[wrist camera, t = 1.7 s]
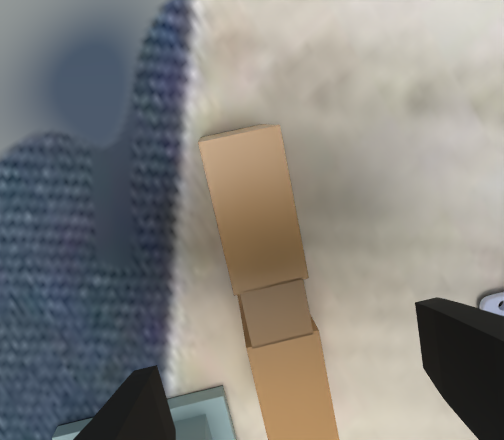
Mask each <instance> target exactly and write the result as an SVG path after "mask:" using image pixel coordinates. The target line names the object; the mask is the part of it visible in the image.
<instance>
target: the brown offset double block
mask: <svg viewBox="0 0 504 440" xmlns="http://www.w3.org/2000/svg"><path fill="white" fill-rule="evenodd" d="M198 144H199V149H200V153H201V157H202V161H203V166H204V170H205V174H206V178H207V183H208V187H209V191H210V195H211V200H212V204H213V208H214V212H215V217H216V221H217V225H218V229H219V234H220V238H221V242H222V246H223V251H224V255H225V259H226V263H227V268H228V272H229V276H230V280H231V285H232V289H233V293H234V296H235V295H238V300H239V306H240V312H241V318H242V324H243V330H244V336H245V342H246V348H247V353H248V357H249V361H250V365H251V370H252V374H253V378H254V382H255V386H256V391H257V395H258V399H259V403H260V408H261V412H262V416H263V420H264V425H265V429H266V433H267V437H268V440H339V436H338V431H337V425H336V420H335V415H334V409H333V404H332V399H331V394H330V388H329V383H328V378H327V372H326V367H325V362H324V356H323V351H322V346H321V340H320V335H319V330H318V328H317V326H316V325H315V323H314V321H313V319H312V317H311V315H310V313H309V308H308V303H307V297H306V292H305V287H304V282H303V279H307V278H309V277H308V271H307V266H306V261H305V256H304V250H303V245H302V240H301V234H300V229H299V224H298V218H297V213H296V208H295V202H294V197H293V192H292V187H291V181H290V176H289V171H288V165H287V160H286V155H285V149H284V144H283V139H282V134H281V128H280V125H266V124H260V125H256V126H251V127H247V128H242V129H237V130H233V131H228V132H223V133H219V134H214V135H210V136H205V137H201V138H200V140H199V142H198Z"/></svg>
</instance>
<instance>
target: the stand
mask: <svg viewBox="0 0 504 440" xmlns="http://www.w3.org/2000/svg"><path fill="white" fill-rule="evenodd" d="M167 401H168V405H169V408H170V412H171V415H172V418H173V422H174V425H175V429H176V440H236V436H235V432H234V428H233V424H232V420H231V416H230V412H229V408H228V404H227V401H226V397H225V393H224V389H223V386H220V387H216V388H212V389H208V390H204V391H200V392H195V393H191V394H187V395H183V396H179V397H175V398H171V399H167ZM92 419H93V418H89V419H85V420H81V421H77V422H73V423H69V424H65V425H61V426H58V427H57V429H56V431H55V433H54V435H53V437H52V440H73V439H74V438H75V437H76V436H77V435H78V434H79V432H80V431H81V430H82V429H83V428H84V427H85V426H86V425H87V424H88V423H89V422H90V421H91V420H92Z"/></svg>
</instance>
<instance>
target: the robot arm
mask: <svg viewBox="0 0 504 440" xmlns="http://www.w3.org/2000/svg"><path fill="white" fill-rule="evenodd" d="M501 301H503V304H502V305H501V306H500V307H498V306H499V303H500V302H501ZM415 306H416V313H417V321H418V329H419V337H420V345H421V353H422V361H423V368H424V370H425V371H426V373H427V374H428V376H429V377H430V379H431V381H432V382H433V384H434V385H435V387H436V388H437V390H438V391H439V393H440V394H441V396H442V397H443V398H444V400H445V401H446V402H447V403H448V404H449V406H450V407H451V408H452V409H453V410H454V412H455V413H456V414H457V415H458V416H459V417H460V419H461V420H462V421H463V422H464V423H465V424H466V425H467V427H468V428H469V429H470V430H471V431H472V432H473V433H474V435H475V436H476V437H477V438H478V439H479V440H504V292H501V293H497V294H493V295H488V296H486V297H484V298H483V299H482V300H481V302H480V306H479V308H480V309H478V308H475V307H472V306H468V305H465V304H461V303H458V302H454V301H451V300H447V299H442V298H432V299H428V300H424V301H420V302H416V303H415ZM73 440H176V429H175V425H174V422H173V418H172V415H171V412H170V408H169V405H168V401H167V398H166V395H165V391H164V388H163V385H162V381H161V378H160V374H159V371H158V368H157V365H156V366H152V367H148V368H143V369H139V370H135V371H134V372H133V373H132V374H131V375H130V376H129V377H128V378H127V379H126V380H125V381H124V382H123V384H122V385H121V386H120V387H119V388H118V390H117V391H116V392H115V393H114V394H113V395H112V397H111V398H110V399H109V400H108V401H107V402H106V404H105V405H104V406H103V407H102V408H101V409H100V411H99V412H98V413H97V414H96V415H95V416H94V417H93V419H92V420H91V421H90V422H89V423H88V424H87V425H86V426H85V427H84V428H83V429H82V430H81V431H80V432H79V434H78V435H77V436H76V437H75V438H74V439H73Z"/></svg>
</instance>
